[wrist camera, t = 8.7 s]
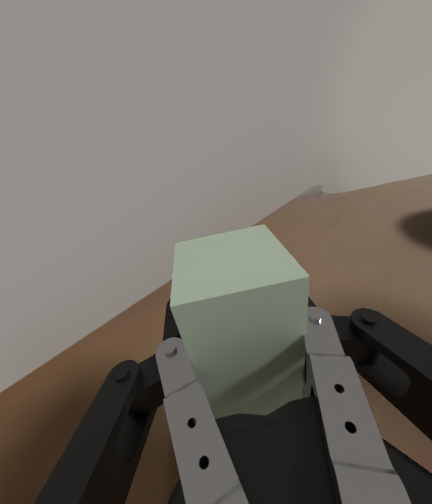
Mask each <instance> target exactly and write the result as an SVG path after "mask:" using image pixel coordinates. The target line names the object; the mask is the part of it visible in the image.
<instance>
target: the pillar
mask: <svg viewBox="0 0 432 504" xmlns="http://www.w3.org/2000/svg"><path fill="white" fill-rule="evenodd" d="M309 279H310V276H309V275H308V274H307V273H306V272H305V270H304V269H303V268H302V267H301V266H300V265H299V264H298V262H297V261H296V260H295V259H294V258H293V257H292V256H291V254H290V253H289V252H288V251H287V250H286V249H285V248H284V246H283V245H282V244H281V243H280V242H279V241H278V240H277V238H276V237H275V236H274V235H273V234H272V233H271V232H270V230H269V229H268V228H267V227H266V226H265V225H259V226H254V227H249V228H245V229H240V230H235V231H230V232H226V233H221V234H216V235H212V236H207V237H202V238H197V239H192V240H188V241H183V242H178V243H175V255H174V266H173V277H172V288H171V300H170V308H171V311H172V314H173V316H174V319H175V322H176V324H177V327H178V330H179V332H180V335H181V338H182V340H183V343H184V346H185V348H186V351H187V354H188V356H189V359H190V360H191V361H192V363H193V366H194V368H195V371H196V373H197V376H198V378H199V380H200V383H201V385H202V388H203V390H204V393H205V395H206V398H207V400H208V403H209V406H210V408H211V411H212V413H213V416H214V418H215V419H217V418H221V417H225V416H229V415H234V414H238V413H243V414H257V415H268V414H270V413H271V412H273V411H275V410H276V409H278V408H280V407H281V406H283V405H285V404H286V403H288V402H290V401H293V400H298V399H302V397H303V378H302V372H301V371H302V365H304V363H305V351H304V346H303V335H304V334H306V330H307V313H308V296H309Z"/></svg>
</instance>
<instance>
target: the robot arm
mask: <svg viewBox="0 0 432 504" xmlns="http://www.w3.org/2000/svg"><path fill="white" fill-rule="evenodd" d="M170 300H171V298H170ZM170 300H169V302H168V303H167V306H166V316H165V318H166V319H165V325H164V334H163V342H162V343H161V344H160V345H159V346H158V348H157V350H156V353H155V354H154V355H153V356H151V357H150V358H148V359H146V360H144V361H142V362H141V363H139V364H137V363H136V362H135V361H133V360H126V361H123V362H121V363H119V364H117V365H116V366H115V367H114V368H113V369H112V370H111V371H110V373H109V374H108V376H107V378H106V379H105V381H104V383H103V385H102V386H101V388H100V390H99V392H98V393H97V395H96V397H95V399H94V400H93V402H92V404H91V406H90V407H89V409H88V411H87V413H86V414H85V416H84V418H83V419H82V421H81V423H80V425H79V426H78V428H77V430H76V432H75V433H74V435H73V437H72V439H71V440H70V442H69V444H68V446H67V447H66V449H65V451H64V453H63V454H62V456H61V458H60V460H59V461H58V463H57V465H56V467H55V468H54V470H53V472H52V473H51V475H50V477H49V479H48V480H47V482H46V484H45V486H44V487H43V489H42V491H41V493H40V494H39V496H38V498H37V500H36V501H35V503H34V504H125V501H126V498H127V495H128V492H129V489H130V486H131V483H132V480H133V477H134V474H135V471H136V468H137V466H138V463H139V460H140V457H141V454H142V451H143V448H144V445H145V442H146V439H147V436H148V433H149V430H150V427H151V424H152V421H153V418H154V415H155V412H156V409H157V407H159V406H160V405H162V404H163V403H164V407H165V412H166V416H167V421H168V425H169V430H170V434H171V439H172V443H173V448H174V452H175V457H176V461H177V466H178V470H179V475H180V478H179V480H178V482H177V484H176V487H175V489H174V491H173V493H172V495H171V497H170V499H169V501H168V504H432V473H430V472H429V471H428V470H426V469H425V468H423V467H422V466H421V465H419V464H418V463H416V462H415V461H414V460H412V459H411V458H409V457H408V456H407V455H405V454H404V453H402V452H401V451H400V450H398V449H397V448H395V447H394V446H393V445H391V444H390V443H388V442H387V441H386V440H384V439H383V438H381V435H380V432H379V430H378V427H377V424H376V422H375V419H374V417H373V414H372V411H371V409H370V406H369V403H368V401H367V398H366V395H365V393H364V390H363V387H362V385H361V382H360V379H359V377H358V374H357V372H358V373H359V374H360V375H361V376H362V377H363V378H364V379H365V380H367V381H368V382H369V383H370V384H371V385H372V386H373V387H374V388H375V389H376V390H377V391H378V392H380V393H381V394H382V395H383V396H384V397H385V398H386V399H387V400H388V401H389V402H390V403H391V404H393V405H394V406H395V407H396V408H397V409H398V410H399V411H400V412H401V413H402V414H403V415H404V416H406V417H407V418H408V419H409V420H410V421H411V422H412V423H413V424H414V425H415V426H416V427H417V428H419V429H420V430H421V431H422V432H423V433H424V434H425V435H426V436H427V437H428V438H429V439H430V440H432V345H430V344H429V343H427V342H426V341H424V340H422V339H421V338H419V337H417V336H416V335H414V334H413V333H411V332H409V331H408V330H406V329H405V328H403V327H401V326H400V325H398V324H397V323H395V322H393V321H392V320H390V319H389V318H387V317H385V316H384V315H382V314H381V313H379V312H377V311H374V310H371V309H366V308H361V309H357V310H355V311H353V312H352V314H351V317H349V316H333V315H330V314H329V313H328V312H327V311H325V310H324V309H322V308H319V307H316V305H315V304H314V303H313V302H312V300H311V299H310V298H309V296H308V313H307V330H306V334H304V335H303V346H304V351H305V363H304V365H302V371H301V372H302V378H303V384H304V392H305V398H302V399H298V400H293V401H290V402H288V403H286V404H285V405H283V406H281V407H280V408H278V409H276V410H275V411H273V412H271V413H270V414H268V415H257V414H243V413H238V414H234V415H229V416H225V417H221V418H217V419H215V418H214V416H213V413H212V411H211V408H210V406H209V403H208V400H207V398H206V395H205V393H204V390H203V388H202V385H201V383H200V380H199V378H198V376H197V373H196V371H195V368H194V366H193V363H192V361H191V360H190V359H189V356H188V354H187V351H186V348H185V346H184V343H183V340H182V338H181V335H180V332H179V330H178V327H177V324H176V322H175V319H174V316H173V314H172V311H171V308H170Z"/></svg>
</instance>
